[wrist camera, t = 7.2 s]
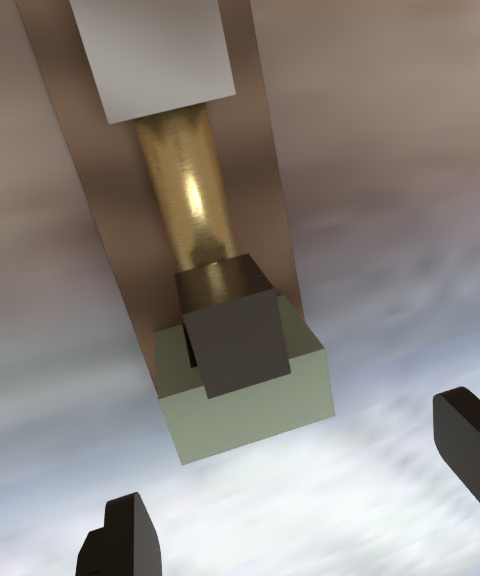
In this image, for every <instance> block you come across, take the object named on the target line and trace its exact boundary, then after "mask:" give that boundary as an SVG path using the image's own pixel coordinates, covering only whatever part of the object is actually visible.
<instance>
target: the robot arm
mask: <svg viewBox="0 0 480 576" xmlns="http://www.w3.org/2000/svg"><path fill="white" fill-rule="evenodd" d="M433 427H434V441H435V444H436V447H437V449H438V451H439V453H440V455H441V457H442V458H443V460H444V461H445V462H446V463H447V464H448V466H449V467H450V468H451V469H452V470H453V472H454V473H455V474H456V475H457V476H458V477H459V479H460V480H461V481H462V482H463V483H464V485H465V486H466V487H467V488H468V489H469V490H470V492H471V493H472V494H473V495H474V496H475V498H476V499H477V500H478V501H479V502H480V399H478V398H477V397H476V396H475V395H474V394H473V393H472V392H470V391H469V390H468V389H467V388H465V387H458V388H455V389H452V390H449V391H445V392H442V393H439V394H436V395H435V396H434V397H433ZM75 576H162V563H161V551H160V545H159V540H158V536H157V533H156V530H155V528H154V526H153V523H152V521H151V519H150V517H149V514H148V512H147V510H146V508H145V505H144V503H143V501H142V499H141V497H140V495H139V493H138V492H135V493H132V494H129V495H126V496H123V497H120V498H117V499H113V500H110V501H108V502H107V503H106V507H105V518H104V527H102V528H99V529H96V530H93V531H90V532H89V533H88V535H87V538H86V540H85V542H84V544H83V546H82V548H81V550H80V552H79V554H78V559H77V566H76V574H75Z"/></svg>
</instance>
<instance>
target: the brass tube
mask: <svg viewBox="0 0 480 576" xmlns="http://www.w3.org/2000/svg"><path fill="white" fill-rule="evenodd" d="M134 122H135V125H136V129H137V132H138V136H139V139H140V142H141V146H142V149H143V153H144V156H145V159H146V163H147V166H148V170H149V173H150V177H151V180H152V183H153V187H154V190H155V194H156V197H157V200H158V204H159V207H160V211H161V214H162V217H163V221H164V224H165V228H166V231H167V234H168V238H169V241H170V245H171V248H172V251H173V255H174V258H175V262H176V265H177V268H178V272H179V273H175V274H174V277H175V282H176V287H177V291H178V296H179V301H180V306H181V311H182V315H183V319H184V322H185V325H186V328H187V332H188V335H189V338H190V342H191V345H192V348H193V352H194V355H195V358H196V361H197V365H198V368H199V371H200V375H201V378H202V381H203V385H204V388H205V391H206V394H207V398H208V399H211V398H214V397H217V396H221V395H224V394H227V393H230V392H233V391H237V390H240V389H243V388H246V387H249V386H253V385H256V384H259V383H262V382H266V381H269V380H272V379H275V378H278V377H282V376H285V375H288V374H291V369H290V364H289V359H288V354H287V348H286V343H285V338H284V333H283V328H282V323H281V318H280V313H279V308H278V303H277V298H276V293H275V288H274V287H273V285H272V284H271V283H270V281H269V280H268V279H267V277H266V276H265V275H264V273H263V272H262V271H261V269H260V268H259V267H258V265H257V264H256V262H255V261H254V260H253V258H252V257H251V256H250V254H249V253H247V254H244V255H240V252H239V247H238V243H237V238H236V234H235V230H234V225H233V221H232V216H231V212H230V207H229V203H228V199H227V194H226V190H225V185H224V181H223V176H222V172H221V168H220V163H219V159H218V154H217V150H216V146H215V141H214V137H213V132H212V128H211V123H210V119H209V115H208V110H207V106H206V102H202V103H198V104H193V105H189V106H185V107H181V108H176V109H172V110H168V111H164V112H160V113H155V114H151V115H147V116H143V117H138V118H134Z"/></svg>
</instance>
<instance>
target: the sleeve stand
mask: <svg viewBox="0 0 480 576" xmlns="http://www.w3.org/2000/svg"><path fill="white" fill-rule="evenodd" d="M15 1H16V4H17V6H18V9H19V12H20V15H21V17H22V20H23V23H24V26H25V28H26V31H27V34H28V37H29V40H30V42H31V45H32V48H33V51H34V53H35V56H36V59H37V62H38V64H39V67H40V70H41V73H42V76H43V78H44V81H45V84H46V87H47V89H48V92H49V95H50V98H51V101H52V103H53V106H54V109H55V112H56V114H57V117H58V120H59V123H60V125H61V128H62V131H63V134H64V137H65V139H66V142H67V145H68V148H69V150H70V153H71V156H72V159H73V161H74V164H75V167H76V170H77V173H78V175H79V178H80V181H81V184H82V186H83V189H84V192H85V195H86V198H87V200H88V203H89V206H90V209H91V211H92V214H93V217H94V220H95V222H96V225H97V228H98V231H99V234H100V236H101V239H102V242H103V245H104V247H105V250H106V253H107V256H108V258H109V261H110V264H111V267H112V270H113V272H114V275H115V278H116V281H117V283H118V286H119V289H120V292H121V295H122V297H123V300H124V303H125V306H126V308H127V311H128V314H129V317H130V319H131V322H132V325H133V328H134V331H135V333H136V336H137V339H138V342H139V344H140V347H141V350H142V353H143V355H144V358H145V361H146V364H147V367H148V369H149V372H150V375H151V378H152V380H153V383H154V386H155V389H156V392H157V394H158V388H157V373H156V358H155V343H154V332H157V331H161V330H164V329H168V328H171V327H175V326H178V325H183V329H184V332H185V335H186V338H187V342H188V345H189V348H190V352H191V355H192V358H193V361H194V365H195V367H197V366H198V365H197V361H196V358H195V355H194V352H193V348H192V345H191V342H190V338H189V335H188V332H187V328H186V325H185V322H184V319H183V315H182V311H181V306H180V301H179V296H178V291H177V287H176V282H175V277H174V274H175V273H179V272H178V268H177V265H176V262H175V258H174V255H173V251H172V248H171V245H170V241H169V238H168V234H167V231H166V228H165V224H164V221H163V217H162V214H161V211H160V207H159V204H158V200H157V197H156V194H155V190H154V187H153V183H152V180H151V177H150V173H149V170H148V166H147V163H146V159H145V156H144V153H143V149H142V146H141V142H140V139H139V136H138V132H137V129H136V125H135V122H134V118H138V117H143V116H147V115H151V114H155V113H160V112H164V111H168V110H172V109H176V108H181V107H185V106H189V105H193V104H198V103H202V102H206V106H207V110H208V115H209V119H210V123H211V128H212V132H213V137H214V141H215V146H216V150H217V154H218V159H219V163H220V168H221V172H222V176H223V181H224V185H225V190H226V194H227V199H228V203H229V207H230V212H231V216H232V221H233V225H234V230H235V234H236V238H237V243H238V247H239V252H240V255H244V254H247V253H249V254H250V256H251V257H252V258H253V260H254V261H255V262H256V264H257V265H258V267H259V268H260V269H261V271H262V272H263V273H264V275H265V276H266V277H267V279H268V280H269V281H270V283H271V284H272V285H273V287H274V288H275V293H276V297H278V296H282V295H284V296H285V297H286V298H287V300H288V301H289V302H290V304H291V305H292V306H293V307H294V309H295V310H296V311H297V313H298V314H299V315H300V317H301V318H302V319H303V321H304V322H305V319H304V314H303V308H302V302H301V296H300V290H299V285H298V279H297V273H296V267H295V261H294V256H293V250H292V244H291V238H290V232H289V226H288V221H287V215H286V209H285V203H284V197H283V192H282V186H281V180H280V174H279V168H278V163H277V157H276V151H275V145H274V139H273V133H272V128H271V122H270V116H269V110H268V104H267V99H266V93H265V87H264V81H263V75H262V70H261V64H260V58H259V52H258V46H257V40H256V35H255V29H254V23H253V17H252V11H251V6H250V0H15Z"/></svg>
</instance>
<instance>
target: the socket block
mask: <svg viewBox="0 0 480 576" xmlns="http://www.w3.org/2000/svg"><path fill="white" fill-rule="evenodd" d="M276 298H277V303H278V308H279V313H280V318H281V323H282V328H283V333H284V338H285V343H286V348H287V354H288V359H289V364H290V369H291V374H288V375H285V376H282V377H278V378H275V379H272V380H269V381H266V382H262V383H259V384H256V385H253V386H249V387H246V388H243V389H240V390H237V391H233V392H230V393H227V394H224V395H221V396H217V397H214V398H211V399H208V398H207V394H206V391H205V388H204V385H203V381H202V378H201V375H200V371H199V368H198V366H197V367H195V365H194V361H193V358H192V355H191V352H190V348H189V345H188V342H187V338H186V335H185V332H184V329H183V325H178V326H175V327H171V328H168V329H164V330H161V331H157V332H154V343H155V358H156V373H157V388H158V400H159V403H160V406H161V409H162V411H163V414H164V417H165V420H166V422H167V425H168V428H169V431H170V433H171V436H172V439H173V442H174V445H175V447H176V450H177V453H178V456H179V458H180V461H181V464H182V465H185V464H188V463H191V462H194V461H197V460H200V459H203V458H207V457H210V456H213V455H216V454H219V453H222V452H225V451H228V450H231V449H234V448H237V447H240V446H243V445H247V444H250V443H253V442H256V441H259V440H262V439H265V438H268V437H271V436H274V435H277V434H280V433H283V432H287V431H290V430H293V429H296V428H299V427H302V426H305V425H308V424H311V423H314V422H317V421H320V420H323V419H327V418H330V417H333V416H335V411H334V404H333V398H332V391H331V385H330V378H329V372H328V365H327V359H326V353H325V348H324V347H323V345H322V344H321V343H320V341H319V340H318V339H317V338H316V336H315V335H314V334H313V332H312V331H311V330H310V328H309V327H308V326H307V324H306V323H305V322H304V321H303V319H302V318H301V317H300V315H299V314H298V313H297V311H296V310H295V309H294V307H293V306H292V305H291V304H290V302H289V301H288V300H287V298H286V297H285V296H284V295H282V296H278V297H276Z"/></svg>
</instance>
